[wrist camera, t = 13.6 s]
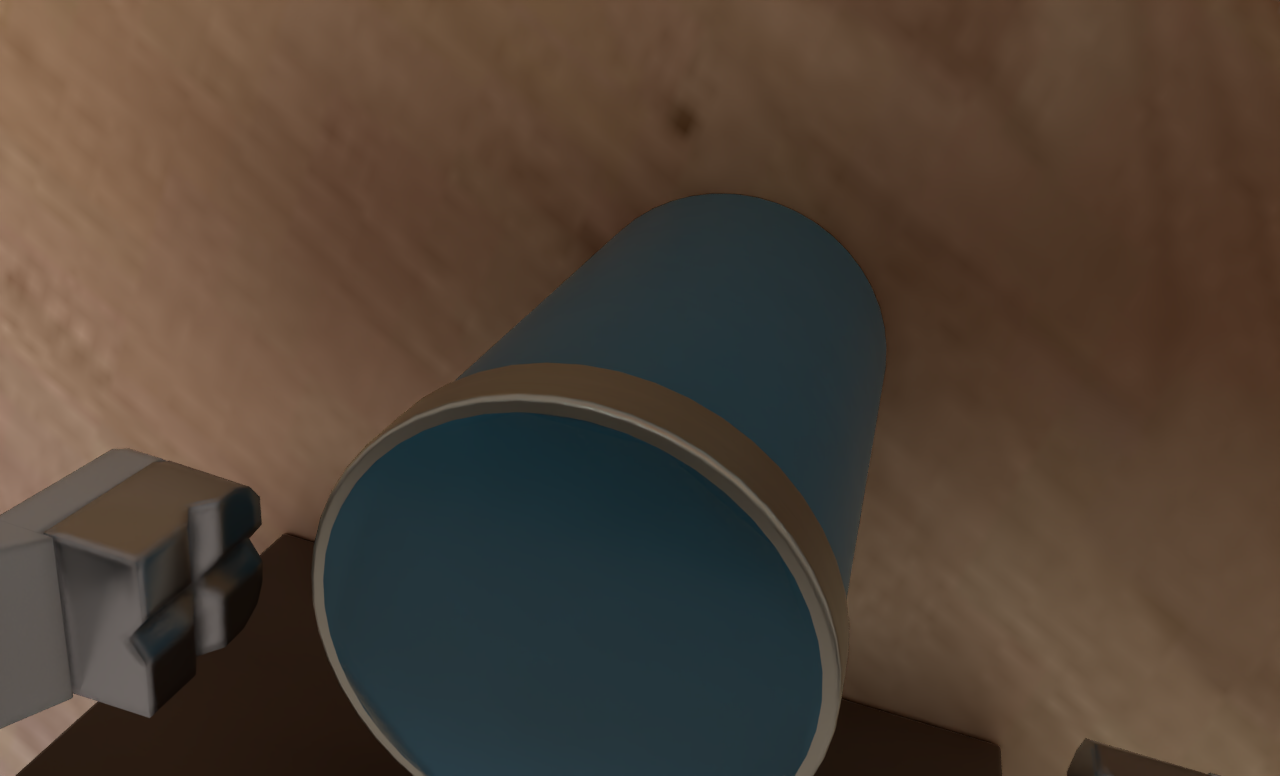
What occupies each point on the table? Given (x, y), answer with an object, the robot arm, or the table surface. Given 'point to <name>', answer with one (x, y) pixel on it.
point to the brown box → (340, 741)
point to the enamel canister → (622, 517)
